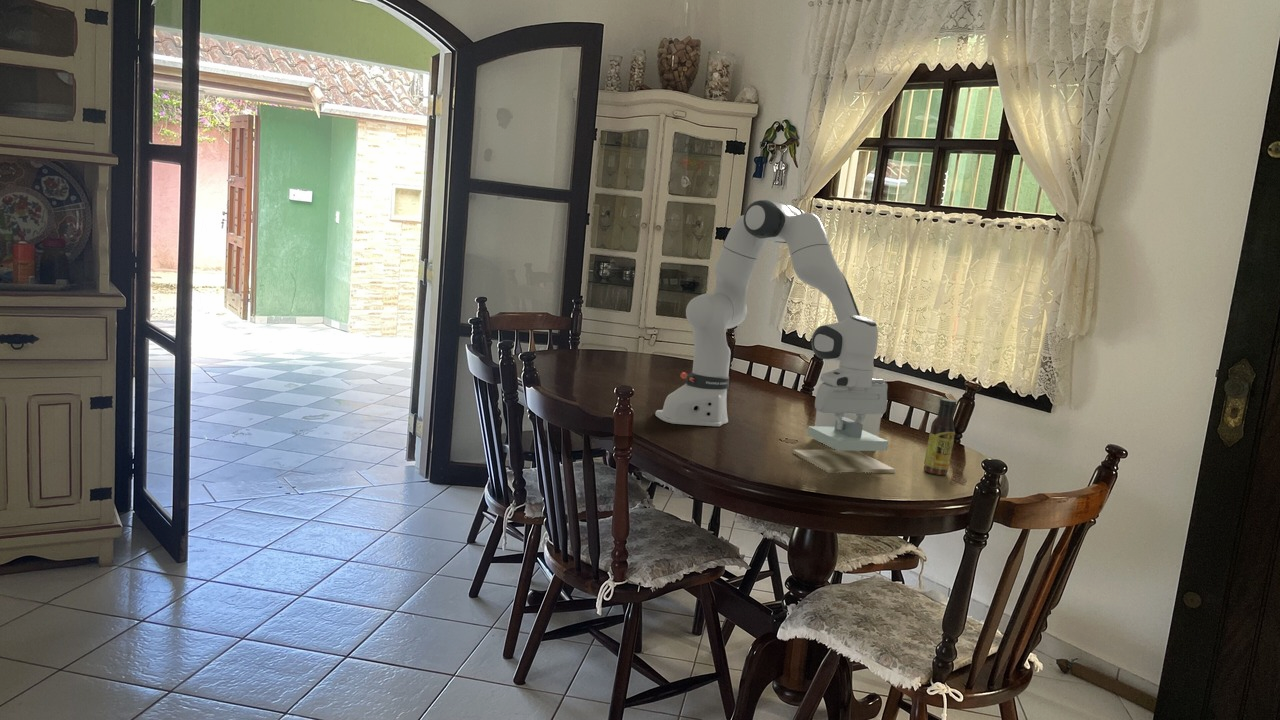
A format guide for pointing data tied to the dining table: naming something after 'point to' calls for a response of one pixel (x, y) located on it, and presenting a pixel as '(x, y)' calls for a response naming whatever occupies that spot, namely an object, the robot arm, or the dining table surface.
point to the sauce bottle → (941, 439)
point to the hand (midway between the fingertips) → (847, 429)
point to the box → (869, 423)
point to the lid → (848, 437)
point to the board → (843, 461)
